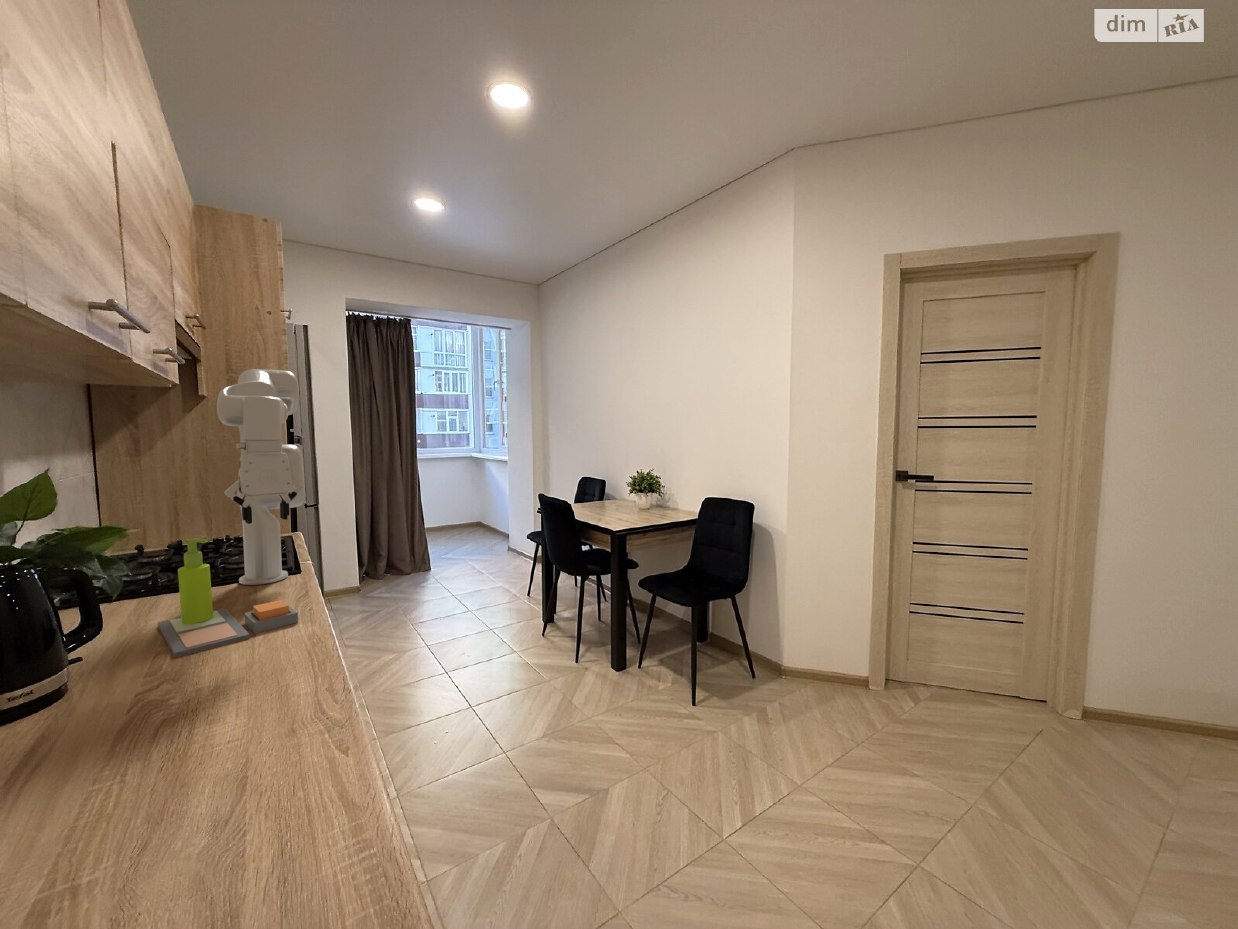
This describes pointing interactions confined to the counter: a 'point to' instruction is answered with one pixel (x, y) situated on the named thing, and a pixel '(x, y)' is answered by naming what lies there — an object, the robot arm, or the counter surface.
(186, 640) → the gray board
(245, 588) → the counter surface
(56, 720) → the counter surface
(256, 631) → the button housing
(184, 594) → the soap dispenser
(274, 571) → the robot arm
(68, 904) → the counter surface
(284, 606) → the button
